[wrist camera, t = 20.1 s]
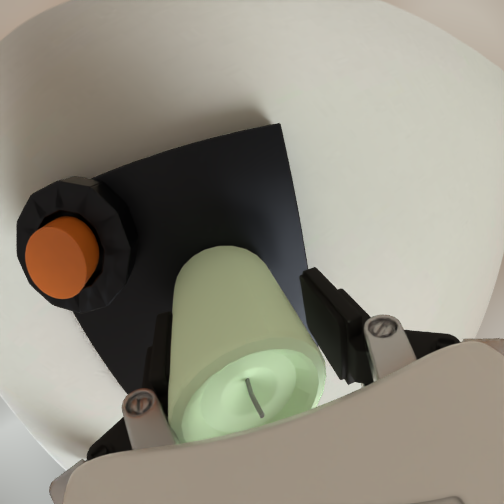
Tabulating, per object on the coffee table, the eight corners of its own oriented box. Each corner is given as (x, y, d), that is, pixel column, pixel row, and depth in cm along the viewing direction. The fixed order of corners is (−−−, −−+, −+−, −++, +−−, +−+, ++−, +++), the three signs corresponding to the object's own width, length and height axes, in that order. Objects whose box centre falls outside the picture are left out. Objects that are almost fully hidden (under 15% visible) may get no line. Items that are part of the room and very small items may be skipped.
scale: (30, 199, 11) (0, 212, 8) (271, 116, 13) (291, 108, 10) (137, 400, 17) (134, 432, 14) (314, 353, 19) (331, 382, 16)
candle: (235, 223, 13) (298, 331, 5) (289, 296, 15) (364, 413, 7) (153, 284, 13) (129, 426, 6) (215, 345, 15) (240, 477, 8)
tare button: (34, 228, 10) (14, 241, 8) (85, 206, 10) (68, 216, 8) (59, 287, 11) (44, 306, 9) (110, 270, 11) (99, 289, 9)
